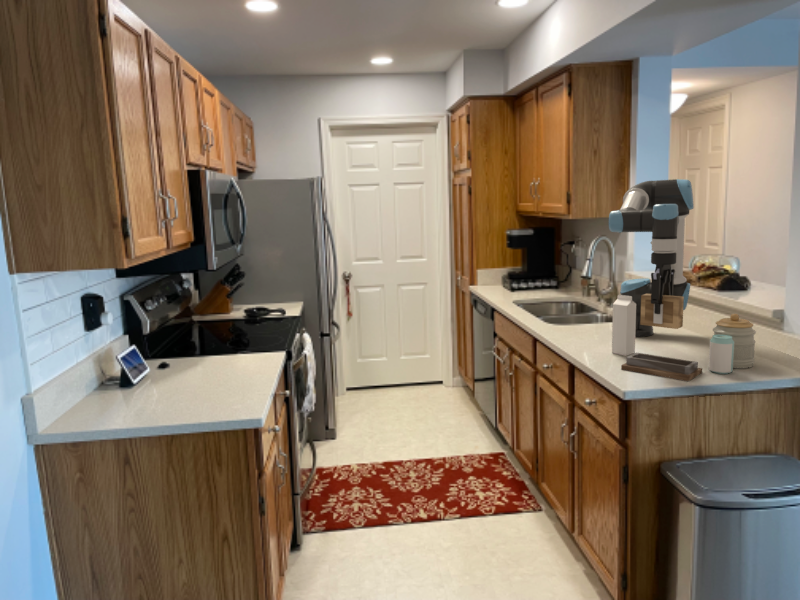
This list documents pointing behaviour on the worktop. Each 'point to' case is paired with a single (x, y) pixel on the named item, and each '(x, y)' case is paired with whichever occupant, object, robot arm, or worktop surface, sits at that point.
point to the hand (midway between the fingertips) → (661, 321)
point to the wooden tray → (662, 366)
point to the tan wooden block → (670, 311)
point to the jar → (738, 339)
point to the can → (721, 354)
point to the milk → (624, 326)
